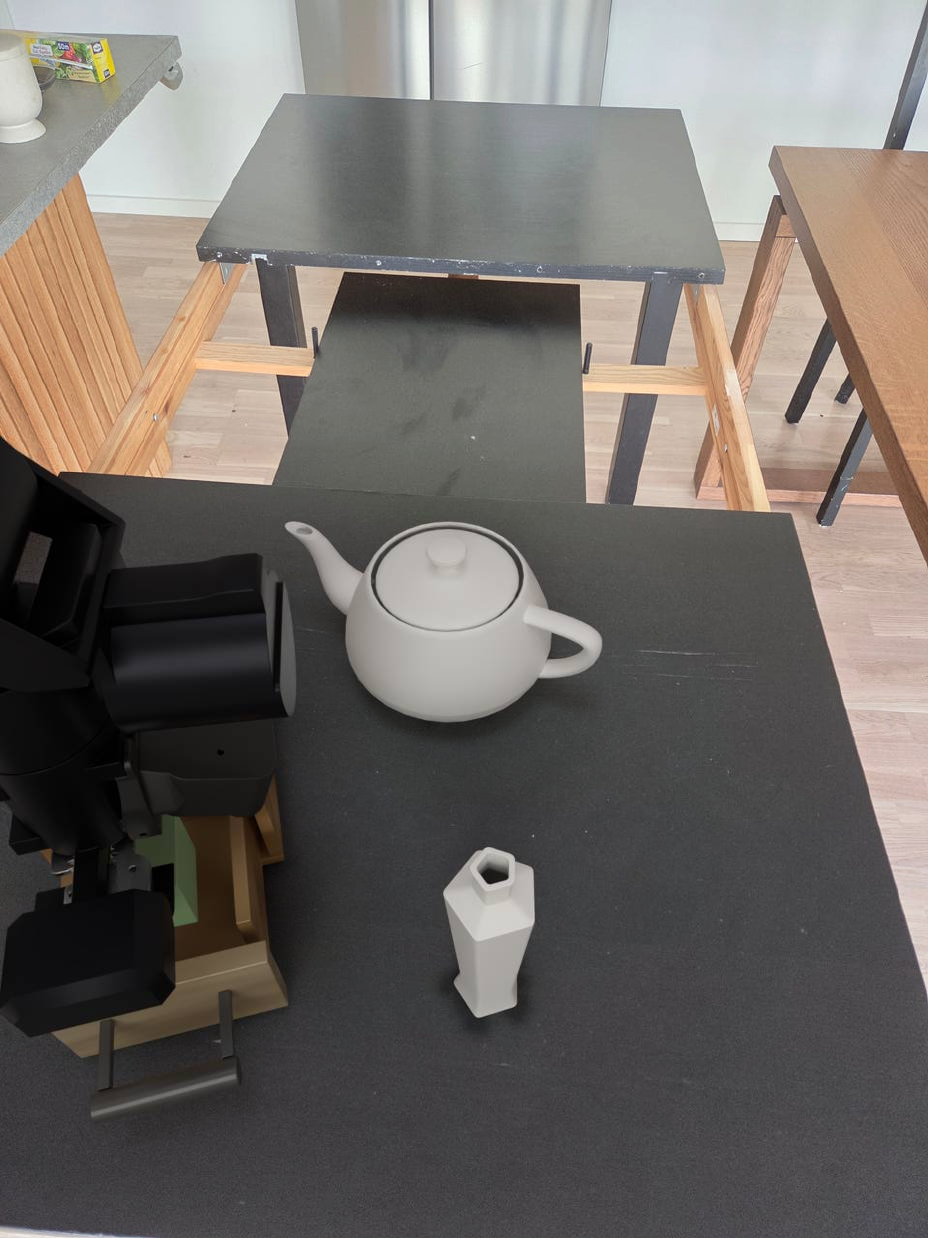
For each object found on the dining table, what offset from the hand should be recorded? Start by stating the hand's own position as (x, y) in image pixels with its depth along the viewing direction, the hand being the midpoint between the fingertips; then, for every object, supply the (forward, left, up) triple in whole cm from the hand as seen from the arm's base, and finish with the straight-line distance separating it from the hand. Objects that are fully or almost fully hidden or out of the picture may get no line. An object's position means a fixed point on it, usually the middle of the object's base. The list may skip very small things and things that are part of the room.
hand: (149, 885), depth 45 cm
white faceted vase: (+17, -6, -9) cm, 20 cm away
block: (0, 0, -1) cm, 1 cm away
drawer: (0, -1, -8) cm, 8 cm away
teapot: (+20, +19, -9) cm, 29 cm away
